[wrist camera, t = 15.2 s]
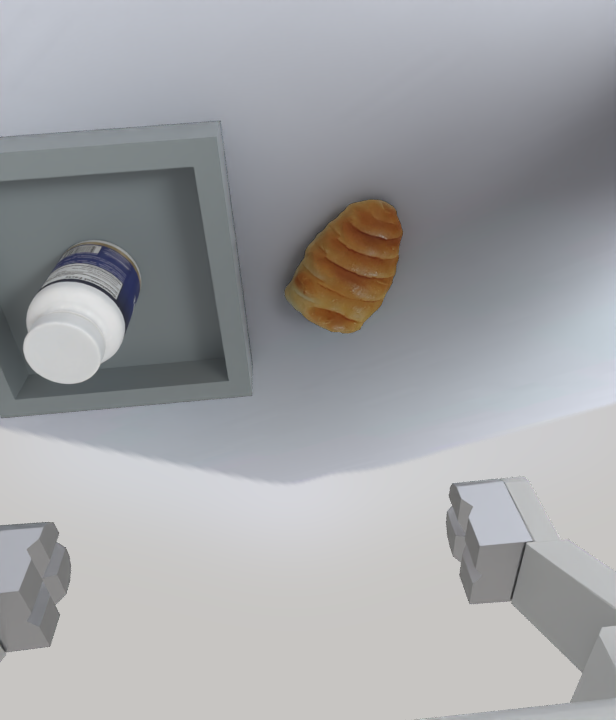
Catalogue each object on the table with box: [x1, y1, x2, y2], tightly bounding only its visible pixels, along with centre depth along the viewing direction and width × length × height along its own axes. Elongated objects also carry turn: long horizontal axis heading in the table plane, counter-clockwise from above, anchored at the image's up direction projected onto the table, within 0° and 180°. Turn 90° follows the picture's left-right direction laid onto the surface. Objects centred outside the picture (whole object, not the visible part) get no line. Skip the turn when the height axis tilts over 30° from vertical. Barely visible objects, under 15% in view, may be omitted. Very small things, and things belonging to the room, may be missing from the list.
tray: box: [0, 121, 253, 418], centre depth 38 cm, size 18×18×4 cm
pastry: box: [285, 199, 403, 333], centre depth 39 cm, size 9×7×4 cm
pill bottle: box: [23, 240, 141, 384], centre depth 35 cm, size 5×5×10 cm
